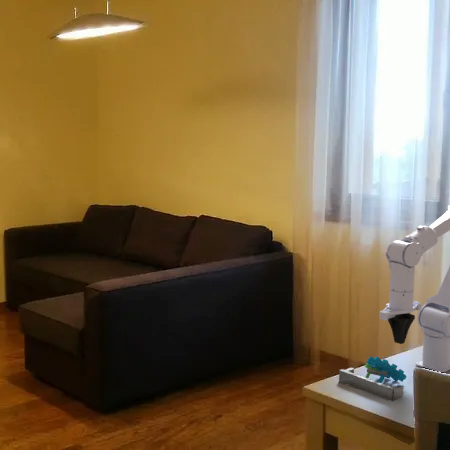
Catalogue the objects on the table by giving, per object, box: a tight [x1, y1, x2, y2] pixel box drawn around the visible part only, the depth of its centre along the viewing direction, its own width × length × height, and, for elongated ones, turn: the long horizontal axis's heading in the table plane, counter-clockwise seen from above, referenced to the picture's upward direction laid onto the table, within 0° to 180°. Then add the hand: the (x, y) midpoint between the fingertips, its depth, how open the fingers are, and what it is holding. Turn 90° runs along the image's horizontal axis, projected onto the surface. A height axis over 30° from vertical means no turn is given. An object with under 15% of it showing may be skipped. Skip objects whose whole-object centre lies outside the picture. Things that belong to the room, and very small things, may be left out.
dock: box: [338, 367, 404, 402], centre depth 164 cm, size 4×16×3 cm, turn 40°
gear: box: [364, 356, 407, 384], centre depth 167 cm, size 11×6×10 cm
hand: (399, 342), depth 170 cm, fingers closed
